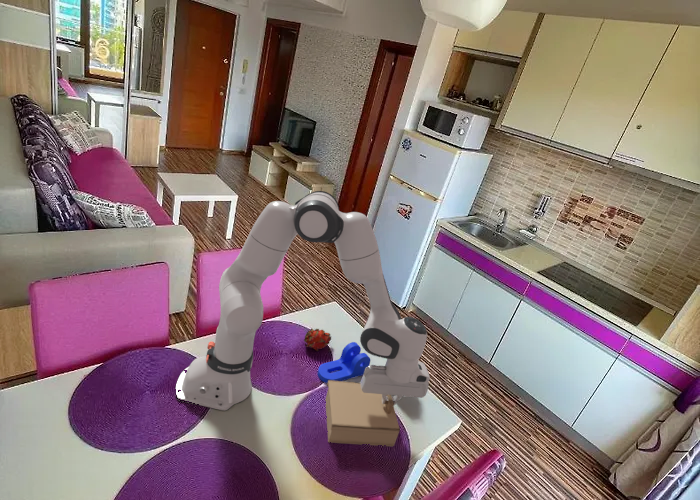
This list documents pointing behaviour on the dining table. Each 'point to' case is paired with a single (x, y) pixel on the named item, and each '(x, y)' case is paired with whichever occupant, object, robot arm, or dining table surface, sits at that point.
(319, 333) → the dragon fruit
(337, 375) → the bracket
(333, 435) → the mailer box
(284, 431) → the dining table surface
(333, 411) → the lid
